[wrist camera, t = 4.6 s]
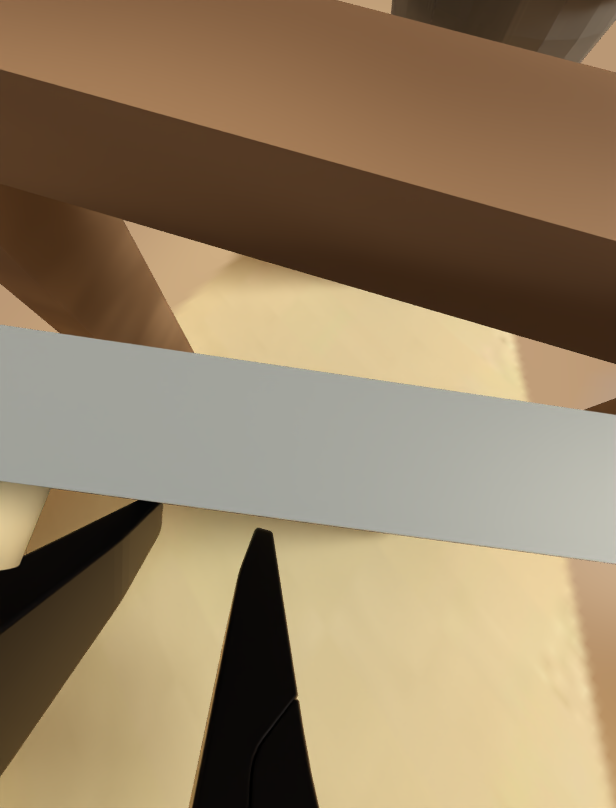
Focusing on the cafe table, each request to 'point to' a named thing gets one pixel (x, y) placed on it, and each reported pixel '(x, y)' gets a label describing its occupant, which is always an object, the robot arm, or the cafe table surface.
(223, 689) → the robot arm
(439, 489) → the cabinet door
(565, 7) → the beverage cup
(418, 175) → the cabinet frame
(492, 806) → the cafe table surface
